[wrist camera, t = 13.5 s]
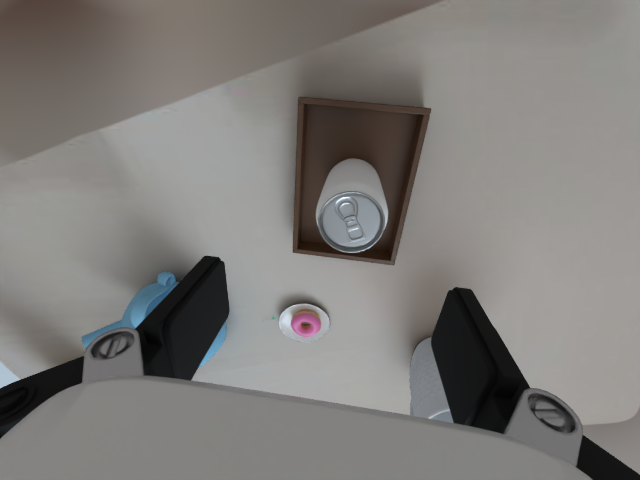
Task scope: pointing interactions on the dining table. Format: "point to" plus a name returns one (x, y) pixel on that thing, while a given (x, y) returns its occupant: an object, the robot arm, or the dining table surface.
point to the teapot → (145, 305)
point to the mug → (427, 386)
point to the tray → (359, 143)
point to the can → (352, 207)
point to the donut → (304, 322)
